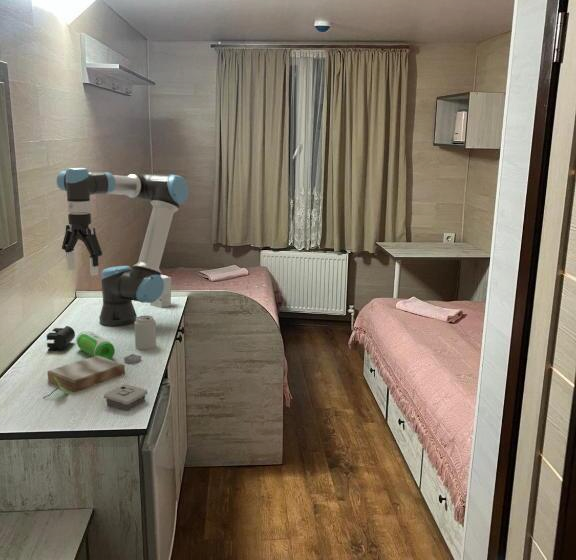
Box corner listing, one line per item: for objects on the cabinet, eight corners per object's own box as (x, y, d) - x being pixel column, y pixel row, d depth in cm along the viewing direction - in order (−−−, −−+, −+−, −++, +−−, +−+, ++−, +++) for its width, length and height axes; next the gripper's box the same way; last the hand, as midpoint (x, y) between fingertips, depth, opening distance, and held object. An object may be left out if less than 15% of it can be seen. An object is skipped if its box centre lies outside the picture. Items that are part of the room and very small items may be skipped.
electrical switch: (123, 383, 187) (147, 384, 183) (126, 400, 188) (150, 401, 184) (101, 394, 179) (125, 396, 175) (104, 411, 180) (128, 413, 175)
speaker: (75, 351, 226) (74, 331, 224) (94, 347, 230) (93, 327, 229) (96, 365, 213) (95, 344, 211) (116, 360, 218) (115, 339, 216)
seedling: (56, 413, 185) (74, 398, 187) (41, 399, 180) (60, 384, 182) (46, 399, 190) (64, 385, 192) (32, 386, 184) (50, 371, 186)
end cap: (66, 352, 225) (65, 334, 223) (47, 351, 225) (45, 333, 223) (75, 343, 234) (74, 325, 233) (56, 342, 234) (55, 325, 233)
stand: (98, 365, 212) (98, 354, 211) (124, 375, 204) (124, 364, 203) (48, 381, 198) (47, 370, 197) (74, 393, 189) (73, 381, 188)
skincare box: (150, 307, 284) (148, 275, 281) (160, 304, 289) (159, 273, 285) (162, 310, 279) (161, 278, 276) (172, 307, 284) (171, 276, 280)
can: (160, 348, 230) (159, 317, 227) (143, 353, 224) (141, 321, 222) (148, 343, 235) (147, 313, 232) (131, 348, 229) (130, 317, 227)
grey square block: (132, 360, 218) (132, 354, 217) (141, 362, 216) (141, 356, 215) (124, 364, 214) (124, 357, 214) (133, 366, 212) (133, 359, 212)
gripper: (49, 210, 221) (53, 269, 226) (92, 217, 207) (95, 279, 211) (67, 209, 227) (71, 265, 232) (110, 215, 212) (113, 275, 217)
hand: (82, 272), depth 222 cm, fingers open, 13 cm apart
